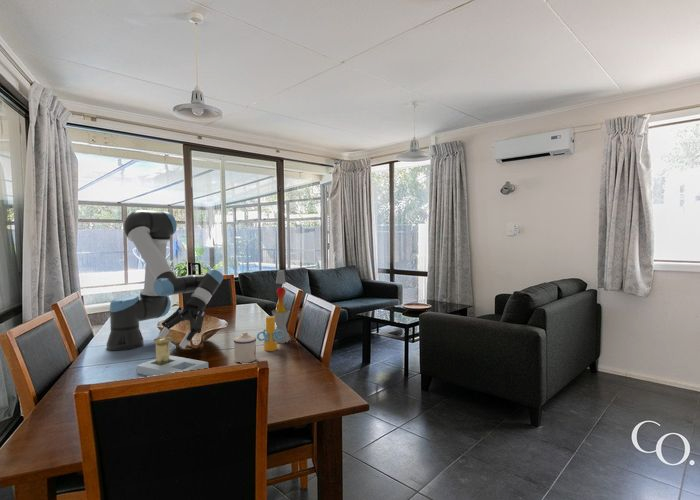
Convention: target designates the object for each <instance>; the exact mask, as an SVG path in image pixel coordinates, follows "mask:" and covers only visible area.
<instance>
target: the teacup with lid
mask: <svg viewBox="0 0 700 500" xmlns="http://www.w3.org/2000/svg"><path fill="white" fill-rule="evenodd" d="M256 341H257V337H256V336H255V335H254V336H253V335H251V334H248V332H247V331H244V332H242V334H240V335H239V336H237V337H236V336H235V338H234V339H233V342H234V345H233V346H234V361H235V362H236V363H237V362H240V363H239V364H247V363H252V362H254V361H256V359H257V352H256V351H257V348H256V346H257V345H256V343H257V342H256Z"/></svg>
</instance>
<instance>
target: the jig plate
mask: <svg viewBox="0 0 700 500" xmlns="http://www.w3.org/2000/svg"><path fill="white" fill-rule="evenodd" d="M204 368H208V369H209V362H208V361H204V360H197V359H193V358H189V357H188V358H186V357H182V356H177V355H176V356H175V355H170V363H167V364H165V365H162V366H161V365H156V358H155V359H152V360H149V361H146V362H143V363H139V364H136V374H139V375H144V376H149V377H151V376H150V375H160V374H168V373H175V372H183V371H190V370H197V369H204Z"/></svg>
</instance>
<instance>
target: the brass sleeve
mask: <svg viewBox="0 0 700 500" xmlns="http://www.w3.org/2000/svg"><path fill="white" fill-rule="evenodd" d="M170 342H172V337H171V336H166V337H160V338H157V337H156V338H153V344H155V359H156V365H161V366H162V365H165V364H167V363H170Z"/></svg>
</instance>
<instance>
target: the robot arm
mask: <svg viewBox="0 0 700 500" xmlns="http://www.w3.org/2000/svg"><path fill="white" fill-rule="evenodd" d="M174 216H175V215H173V214H172V213H170V212H168V211H163V210H162V211H161V210H143V209H139V210H134V211H132V212H131V213H129V214H128V215H127V216H126V218H125V220H124V224H123V230H124V234H125V235H126V238H127V239H128V241H130V242H133V245H134V246H135V248H136V249H137V252H138V253H139V254H140V256H141V258H142V260H143V261H144V263H145V270H144V285H143V289H141V291H140V295H137V294H129V295H122V296H119V297H115V298H114V299H112V300H111V301H110V304H109V317H110V319H109V320H110V321H109V322H110V333H109V335H108V339H107V341H106V350H108V351H126V350H133V349H136V348H139V347H141V346H144V343H145V341H144V337H143V334H142V332H141V329H140V322H143V321H148V320H153V319H160V318H162V317H165V316H166V315H167V314H168V313H169V311H170V310H171V306H172V305H171V304H172V301H171V299H170V296H173V295H179V294H188V293H191V296H190V297H189V298H188V300H187V301H186V303H185V308H182V307H181V306H180V307H178V308H177V309H176V311H174V312H173V313H171V315H169V316H168V317H167V318H166V319H165V320H164V321H162V322H161V326H162V327H163V328H162V329H161V330H160V331H159V333H158V335H157V336H156V338H160V337H167V335H168V333H169V332H170V329H172V328H173V327H175V326H176V325H178V324H180V323H181V322H184V321H189V327H190V329H189V330H188V331H187V332H186V333H185V335H184V337H183V338H182V340H181V341H180V343H179V344H178V346H179V348H182V349H183V350H185V348H186V347H187V345H188V344H189V343H190V342H191V340H192V339H193V338H194V337H195V335H196V334H201V332H202V329H203V324H204V323H203V322H204V317H205V315H206V312H205V311H204V310H205V309H206V307H207V304H208V303H209V302H210V300H212V299H211V298H212V297H213V296H214V295H215V293H216V291H218V288H219V287H220V285H221V284H222V282H223V280H224V274H223V273H221V271H219V269H218V270H217V269H214V268H210V269H208V271H207V272H206V273H204V274H188V275H183V276H182V275H181V276H176V275H175V273H174V272H173V270H172V268H171V267H170V265H169V263H168V262H167V261H166V255H167V244H168V242H169V241H171V236H173V235H174V234H175V233H176V232H177V228H178V225H177V224H178V223H177V221H176V218H175V217H174Z"/></svg>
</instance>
